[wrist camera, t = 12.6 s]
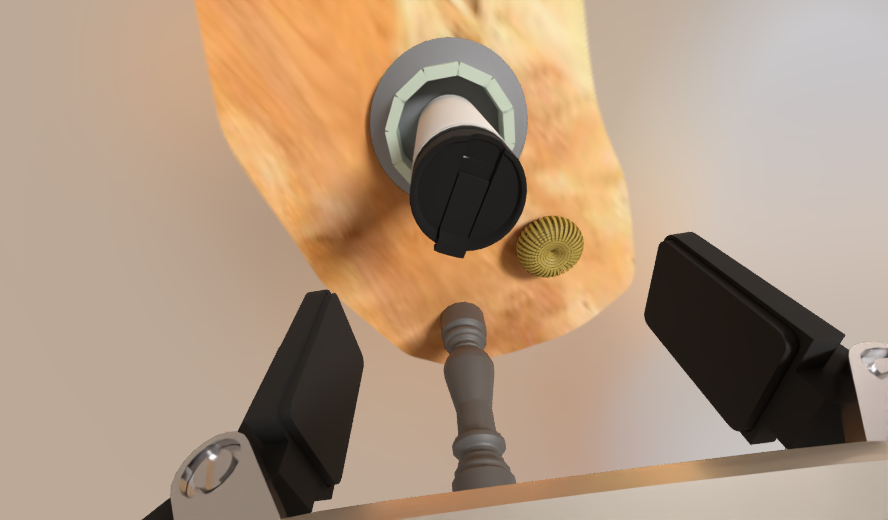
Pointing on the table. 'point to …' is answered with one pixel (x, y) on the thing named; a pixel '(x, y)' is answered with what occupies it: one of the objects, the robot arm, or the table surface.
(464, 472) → the candle holder
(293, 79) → the table surface
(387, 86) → the mug dock
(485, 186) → the travel mug
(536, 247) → the sculpture
